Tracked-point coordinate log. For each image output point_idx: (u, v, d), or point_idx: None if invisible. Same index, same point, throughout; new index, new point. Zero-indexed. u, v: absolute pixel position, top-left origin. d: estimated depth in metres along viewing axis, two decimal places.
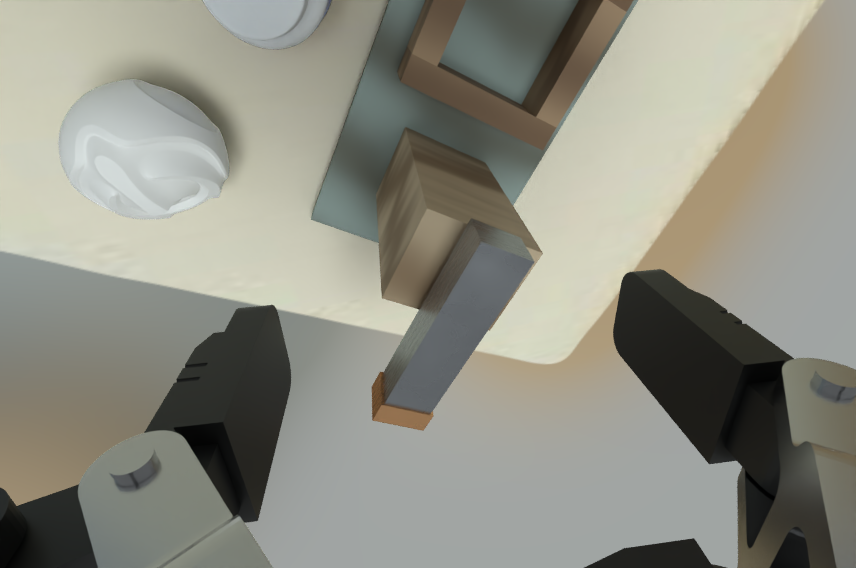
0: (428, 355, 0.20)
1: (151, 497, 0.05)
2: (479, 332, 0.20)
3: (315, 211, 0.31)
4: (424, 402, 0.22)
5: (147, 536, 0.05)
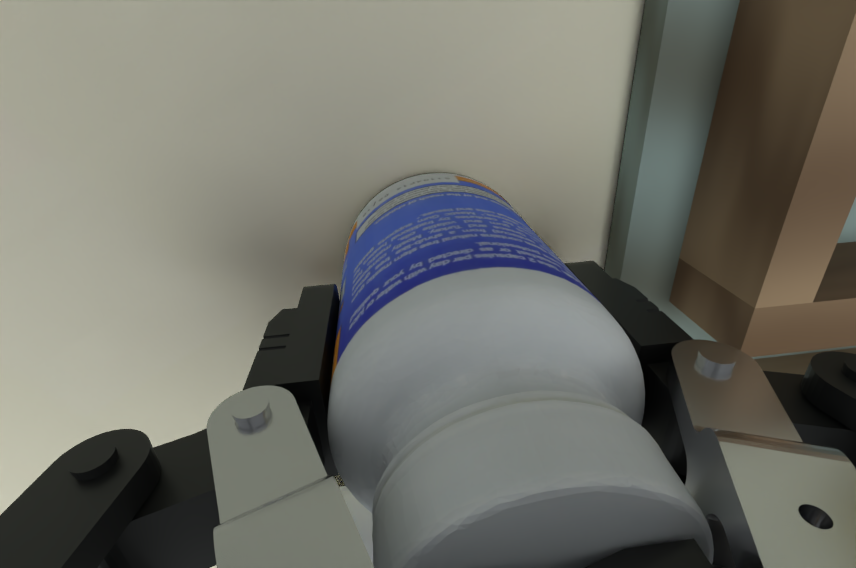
0: None
1: (262, 443, 0.06)
2: None
3: None
4: None
5: (256, 476, 0.05)
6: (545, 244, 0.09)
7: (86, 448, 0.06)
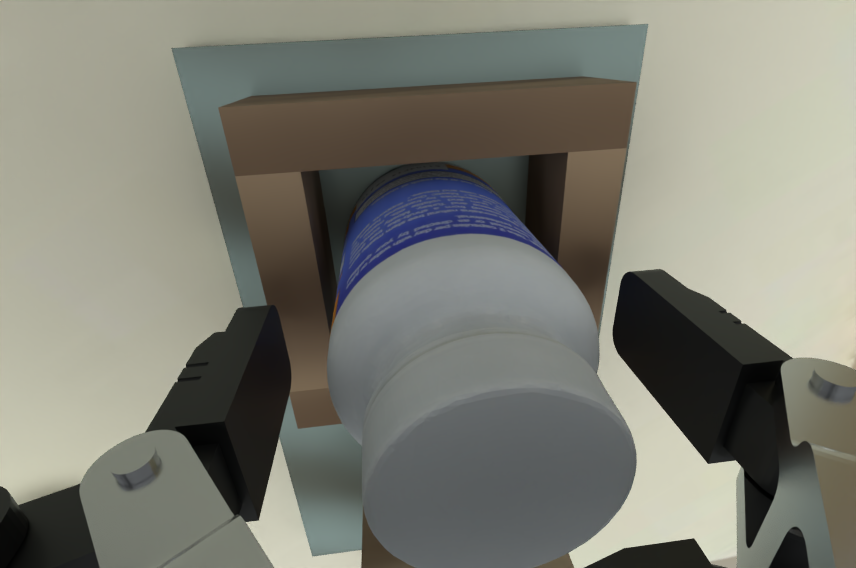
0: None
1: (152, 495, 0.05)
2: None
3: (312, 547, 0.21)
4: None
5: (148, 535, 0.05)
6: (521, 222, 0.10)
7: None
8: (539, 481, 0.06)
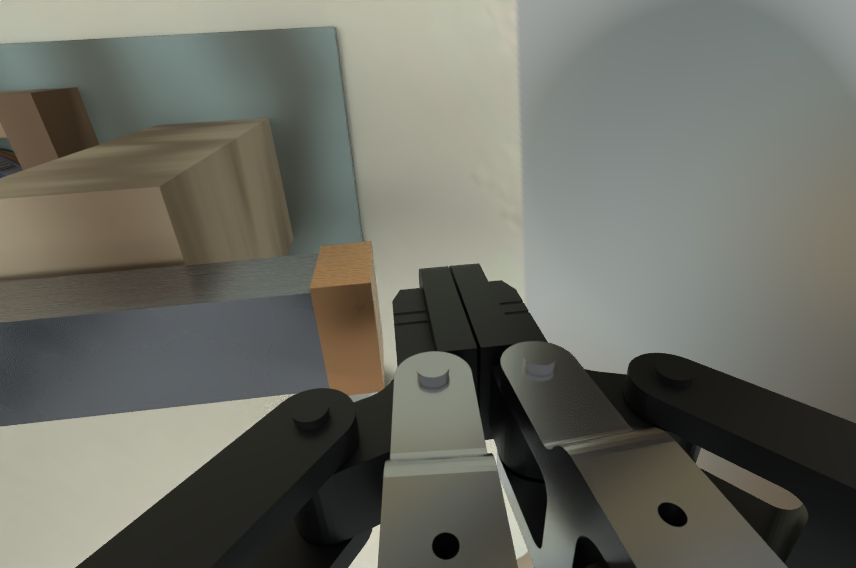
0: (154, 384, 0.10)
1: (436, 403, 0.06)
2: (19, 334, 0.09)
3: None
4: (282, 324, 0.09)
5: (425, 430, 0.06)
6: None
7: (307, 399, 0.06)
8: None
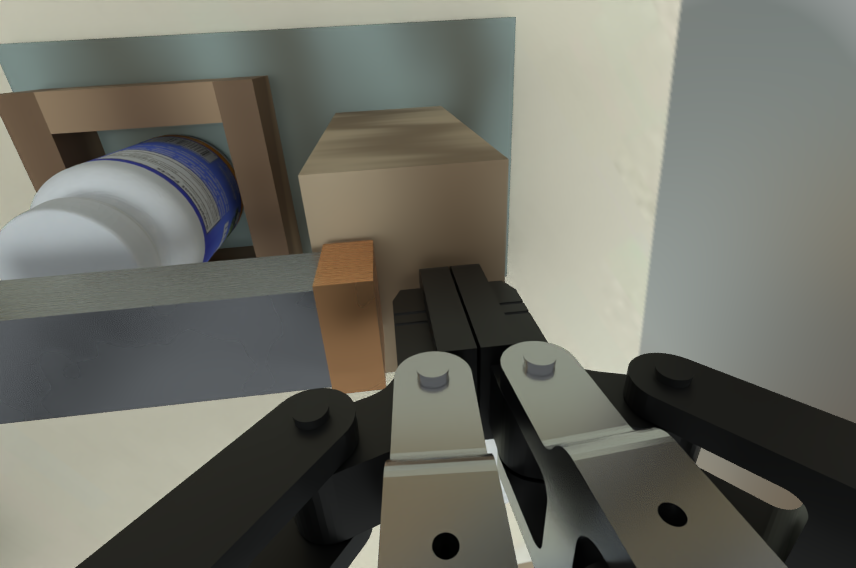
0: (158, 382, 0.10)
1: (436, 402, 0.06)
2: (25, 331, 0.09)
3: None
4: (285, 322, 0.09)
5: (425, 430, 0.06)
6: None
7: (307, 399, 0.06)
8: (53, 259, 0.13)
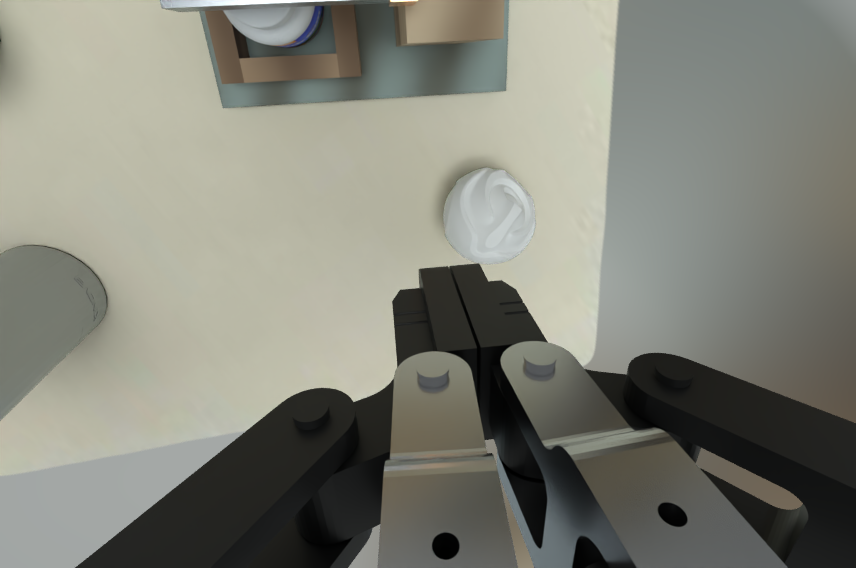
0: None
1: (436, 403, 0.06)
2: None
3: (497, 89, 0.36)
4: None
5: (425, 430, 0.06)
6: None
7: (307, 399, 0.06)
8: None
